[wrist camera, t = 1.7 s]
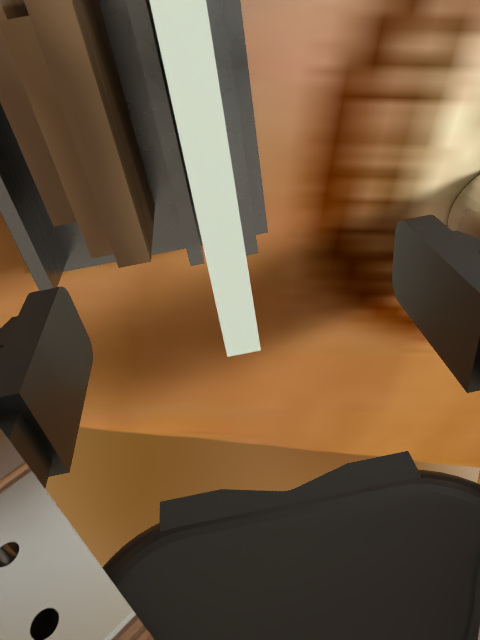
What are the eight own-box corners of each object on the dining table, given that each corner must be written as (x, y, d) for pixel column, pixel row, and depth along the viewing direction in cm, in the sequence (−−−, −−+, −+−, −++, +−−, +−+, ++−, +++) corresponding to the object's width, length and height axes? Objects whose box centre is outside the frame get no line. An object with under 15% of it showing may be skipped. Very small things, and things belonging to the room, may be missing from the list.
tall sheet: (178, -55, 26) (187, -118, 12) (224, 205, 36) (260, 350, 21) (151, -50, 26) (126, -107, 11) (204, 209, 35) (227, 356, 21)
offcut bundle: (93, -17, 26) (65, -22, 19) (155, 206, 35) (150, 261, 28) (-7, 1, 26) (-74, 4, 19) (78, 220, 35) (54, 280, 28)
